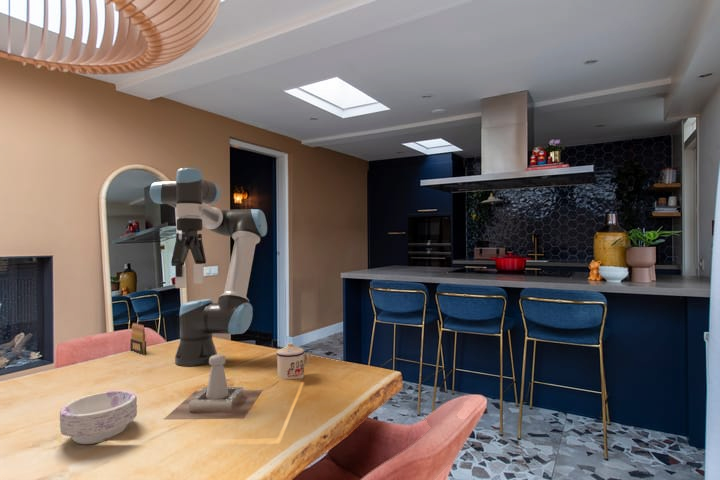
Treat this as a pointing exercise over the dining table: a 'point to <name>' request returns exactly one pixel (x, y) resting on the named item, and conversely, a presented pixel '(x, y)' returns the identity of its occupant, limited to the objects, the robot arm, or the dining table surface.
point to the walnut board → (236, 413)
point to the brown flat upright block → (138, 339)
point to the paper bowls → (98, 416)
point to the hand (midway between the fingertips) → (189, 285)
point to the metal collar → (216, 401)
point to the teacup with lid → (291, 362)
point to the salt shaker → (217, 379)
